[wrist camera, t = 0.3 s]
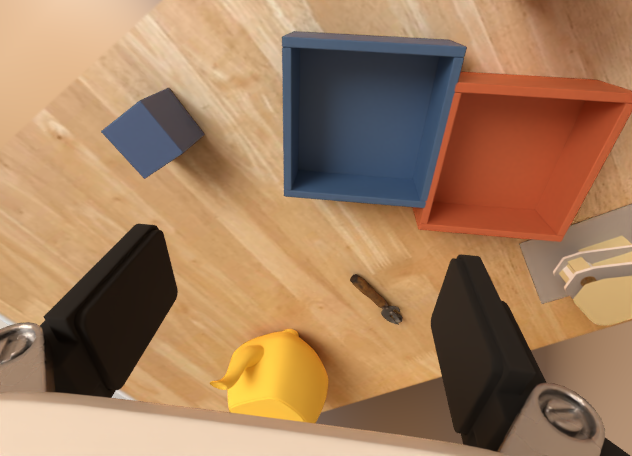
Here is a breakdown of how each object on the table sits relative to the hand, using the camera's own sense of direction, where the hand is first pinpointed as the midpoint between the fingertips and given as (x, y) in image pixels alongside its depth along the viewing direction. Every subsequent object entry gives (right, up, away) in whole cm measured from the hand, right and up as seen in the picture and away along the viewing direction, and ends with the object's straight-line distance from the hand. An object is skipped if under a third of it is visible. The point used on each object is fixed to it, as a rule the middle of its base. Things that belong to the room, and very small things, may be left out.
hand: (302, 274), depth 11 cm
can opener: (+7, -6, +27) cm, 29 cm away
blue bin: (+4, +11, +16) cm, 20 cm away
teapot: (-4, -14, +34) cm, 37 cm away
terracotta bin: (+15, +8, +17) cm, 24 cm away
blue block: (-12, +10, +18) cm, 25 cm away
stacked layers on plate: (+27, -1, +22) cm, 34 cm away
